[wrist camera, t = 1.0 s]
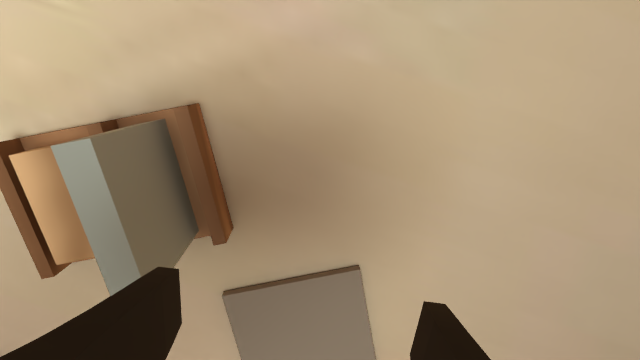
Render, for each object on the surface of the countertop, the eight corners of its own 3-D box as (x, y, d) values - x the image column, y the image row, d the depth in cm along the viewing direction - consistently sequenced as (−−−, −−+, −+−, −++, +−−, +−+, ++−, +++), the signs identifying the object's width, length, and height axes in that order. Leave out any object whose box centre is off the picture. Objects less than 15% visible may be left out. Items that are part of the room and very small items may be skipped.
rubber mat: (255, 398, 28) (255, 404, 28) (223, 291, 26) (222, 296, 25) (377, 374, 28) (379, 380, 28) (358, 265, 26) (360, 269, 25)
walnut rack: (66, 260, 24) (41, 278, 22) (14, 139, 22) (-20, 145, 20) (233, 227, 24) (226, 242, 22) (198, 103, 22) (186, 105, 20)
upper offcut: (66, 257, 23) (56, 264, 22) (21, 152, 21) (8, 155, 20) (127, 245, 23) (120, 252, 22) (88, 139, 21) (78, 141, 20)
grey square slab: (175, 235, 24) (115, 308, 16) (139, 123, 22) (50, 145, 14) (199, 230, 24) (150, 301, 16) (164, 118, 22) (89, 138, 14)
